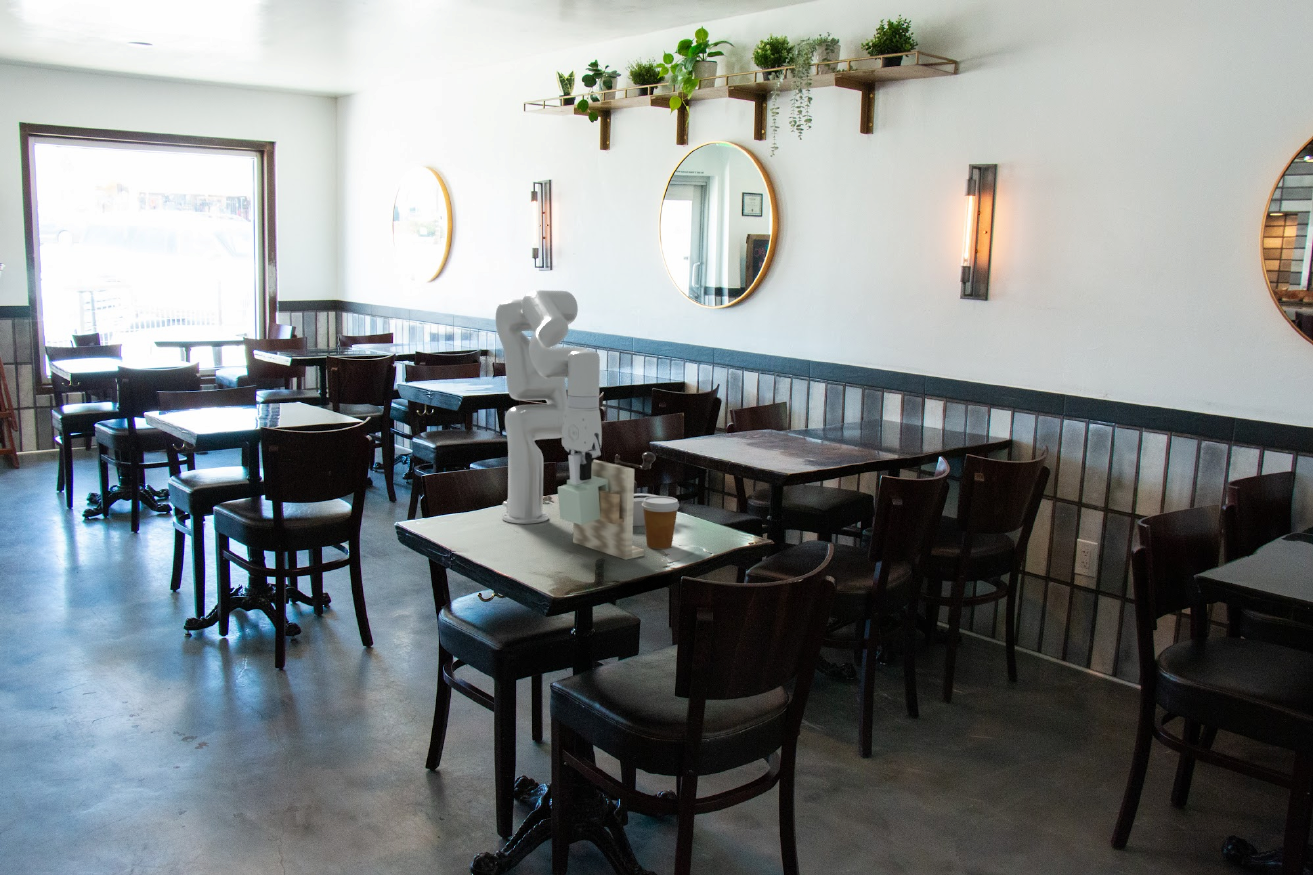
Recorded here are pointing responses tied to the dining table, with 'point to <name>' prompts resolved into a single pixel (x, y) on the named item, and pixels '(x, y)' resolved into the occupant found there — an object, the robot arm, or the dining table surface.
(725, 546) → the dining table surface
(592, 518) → the mint green box
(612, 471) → the wall board
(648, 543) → the disposable coffee cup
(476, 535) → the dining table surface
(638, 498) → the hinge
